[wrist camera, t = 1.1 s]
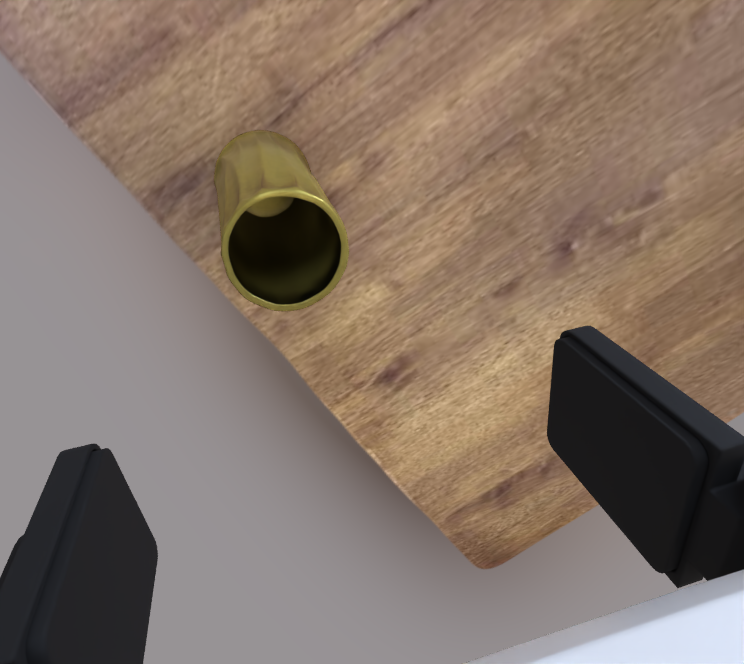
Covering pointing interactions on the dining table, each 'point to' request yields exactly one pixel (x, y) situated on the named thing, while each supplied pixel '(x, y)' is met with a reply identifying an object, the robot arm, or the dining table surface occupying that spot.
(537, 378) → the dining table surface
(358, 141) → the dining table surface
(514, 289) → the dining table surface
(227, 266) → the vase
